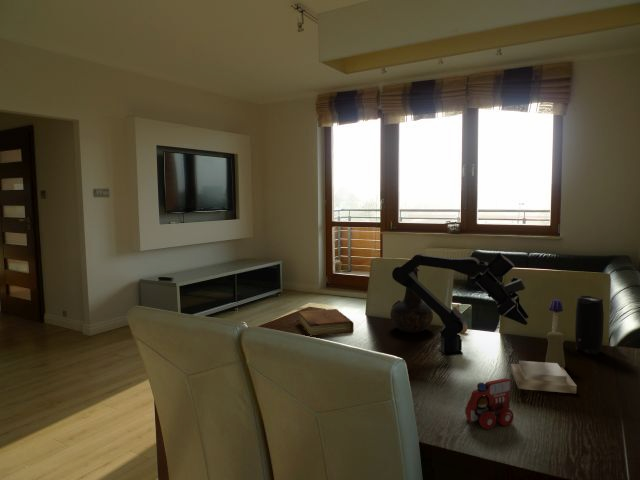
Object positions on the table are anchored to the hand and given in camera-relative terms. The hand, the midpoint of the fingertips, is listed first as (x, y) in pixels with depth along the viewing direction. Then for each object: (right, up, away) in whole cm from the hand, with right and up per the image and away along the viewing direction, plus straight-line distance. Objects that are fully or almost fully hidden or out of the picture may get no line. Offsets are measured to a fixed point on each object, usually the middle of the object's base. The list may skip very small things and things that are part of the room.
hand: (527, 320), depth 152 cm
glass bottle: (-30, -11, +42) cm, 53 cm away
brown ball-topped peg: (+8, -14, -3) cm, 17 cm away
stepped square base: (-3, -15, -16) cm, 22 cm away
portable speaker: (+27, -13, +11) cm, 32 cm away
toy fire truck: (-28, -18, -40) cm, 52 cm away
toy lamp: (+20, -12, +21) cm, 31 cm away
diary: (-67, -12, +48) cm, 83 cm away
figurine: (-11, -12, +36) cm, 40 cm away
